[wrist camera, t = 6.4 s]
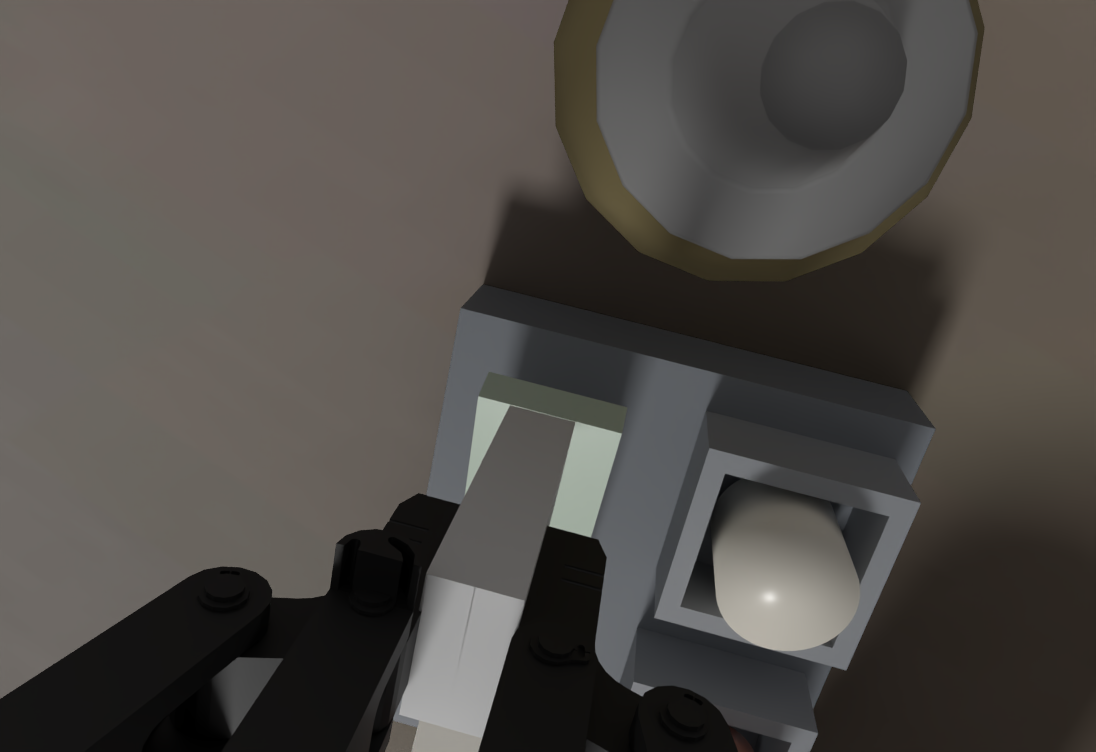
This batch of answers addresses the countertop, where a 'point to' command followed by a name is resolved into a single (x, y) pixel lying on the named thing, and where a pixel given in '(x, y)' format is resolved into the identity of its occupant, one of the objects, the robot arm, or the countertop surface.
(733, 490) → the ivory button
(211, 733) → the robot arm
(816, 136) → the squeeze bottle
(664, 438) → the panel
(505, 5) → the countertop surface
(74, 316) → the countertop surface
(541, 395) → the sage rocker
